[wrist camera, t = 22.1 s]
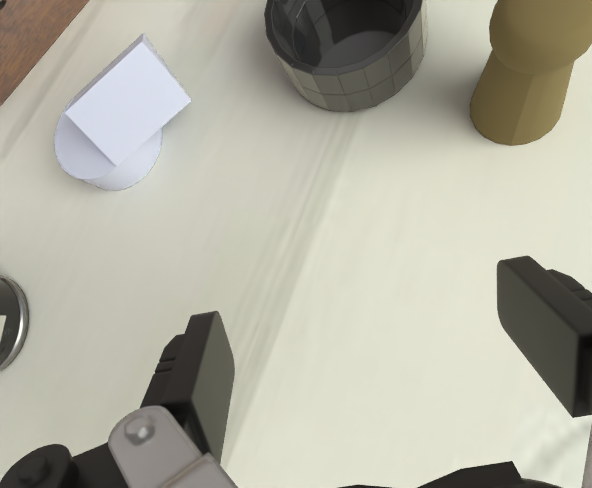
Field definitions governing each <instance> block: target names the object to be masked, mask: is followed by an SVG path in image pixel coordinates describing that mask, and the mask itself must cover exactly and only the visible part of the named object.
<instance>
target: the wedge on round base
mask: <svg viewBox="0 0 592 488" xmlns="http://www.w3.org/2000/svg"><path fill="white" fill-rule="evenodd" d="M191 101H192V100H191V98H190V97H189V96H188V94H187V93H186V91H185V90H184V89H183V87H182V86H181V84H180V83H179V82H178V80H177V79H176V77H175V76H174V75H173V73H172V72H171V70H170V69H169V68H168V66H167V65H166V63H165V62H164V61H163V59H162V58H161V56H160V55H159V54H158V52H157V51H156V49H155V48H154V47H153V45H152V44H151V42H150V41H149V39H148V38H147V37H146V35H145V34H144V33H143V34H142V35H141V36H140V37H139V38H138V39H136V40H135V41H134V42H133V43H132V44H131V45H130V46H129V47H128V48H127V49H126V50H125V51H123V52H122V53H121V54H120V55H119V56H118V57H117V58H116V59H115V60H114V61H113V62H112V63H110V64H109V65H108V66H107V67H106V68H105V69H104V70H103V71H102V72H101V73H100V74H99V75H98V76H96V77H95V78H94V79H93V80H92V81H91V82H90V83H89V84H88V85H87V86H86V87H85V88H83V89H82V90H81V91H80V92H79V93H78V94H77V95H76V96H75V97H74V98H73V99H72V100H71V101H70V102H69V103H68V105H67V106H66V108H65V109H64V111H63V112H62V114H61V116H60V118H59V121H58V124H57V127H56V131H55V137H54V147H55V154H56V157H57V160H58V162H59V164H60V166H61V167H62V168H63V169H64V170H65V171H66V172H67V173H68V174H70V175H71V176H73V177H76V178H78V179H80V180H83V181H85V182H88V183H90V184H92V185H95V186H97V187H100V188H102V189H105V190H109V191H117V190H123V189H126V188H128V187H131V186H133V185H134V184H136V183H138V182H139V181H140V180H141V179H143V178H144V177H145V176H146V175H147V173H148V172H149V171H150V170H151V168H152V167H153V165H154V164H155V162H156V160H157V157H158V155H159V152H160V148H161V143H162V129H161V127H162V126H164V125H165V124H166V123H167V122H168V121H169V120H170V119H172V118H173V117H174V116H175V115H176V114H177V113H178V112H180V111H181V110H182V109H183V108H184V107H185V106H186V105H188V104H189V103H190V102H191Z"/></svg>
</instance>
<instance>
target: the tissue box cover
mask: <svg viewBox="0 0 592 488" xmlns="http://www.w3.org/2000/svg"><path fill="white" fill-rule="evenodd" d="M88 1H89V0H0V106H1V105H2V104H3V102H4V101H5V100H6V99H7V98H8V96H9V95H10V94H11V93H12V92H13V90H14V89H15V88H16V87H17V86H18V84H19V83H20V82H21V81H22V80H23V78H24V77H25V76H26V75H27V74H28V72H29V71H30V70H31V69H32V68H33V67H34V65H35V64H36V63H37V62H38V61H39V59H40V58H41V57H42V56H43V55H44V53H45V52H46V51H47V50H48V49H49V47H50V46H51V45H52V44H53V43H54V41H55V40H56V39H57V38H58V37H59V35H60V34H61V33H62V32H63V31H64V29H65V28H66V27H67V26H68V25H69V23H70V22H71V21H72V20H73V19H74V17H75V16H76V15H77V14H78V13H79V12H80V10H81V9H82V8H83V7H84V6H85V4H86V3H87V2H88Z"/></svg>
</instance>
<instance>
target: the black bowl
mask: <svg viewBox="0 0 592 488" xmlns="http://www.w3.org/2000/svg"><path fill="white" fill-rule="evenodd" d="M264 13H265V14H264V17H265V27H266V35H267V38H268V40H269V42H270V44H271V46H272V48H273V50H274V52H275V54H276V55H277V57H278V59H279V60H280V62H281V64H282V65H283V67H284V69H285V70H286V72H287V74H288V75H289V77H290V79H291V80H292V82H293V84H294V85H295V87H296V89H297V90H298V92H300V93H301V94H302V95H303V96H304V97H305V98H306V99H307V100H308V101H310V102H311V103H312V104H314V105H317V106H320V107H322V108H325V109H327V110H330V111H344V112H352V111H357V110H361V109H365V108H369V107H373V106H376V105H378V104H379V103H381V102H383V101H385V100H387V99H388V98H390V97H392V96H394V95H395V94H396V93H397V92H398V91H399V90H400V89H401V88H402V87H403V86H404V85H405V84H406V83H407V82H408V81H409V80H410V79H411V78H412V77H413V75H414V73H415V72H416V70H417V68H418V66H419V64H420V62H421V61H422V59H423V57H424V52H425V46H426V40H427V15H426V0H267V4H266V8H265V12H264Z"/></svg>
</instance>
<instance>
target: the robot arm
mask: <svg viewBox="0 0 592 488" xmlns="http://www.w3.org/2000/svg"><path fill="white" fill-rule="evenodd" d="M497 310H498V316H499V319H500V322H501V325H502V327H503V328H504V330H505V331H506V333H507V334H508V335H509V337H510V338H511V339H512V340H513V342H514V343H515V344H516V346H517V347H518V348H519V349H520V351H521V352H522V353H523V355H524V356H525V357H526V358H527V360H528V361H529V362H530V364H531V365H532V366H533V367H534V369H535V370H536V371H537V373H538V374H539V375H540V376H541V378H542V379H543V380H544V381H545V383H546V384H547V385H548V387H549V388H550V389H551V390H552V392H553V393H554V394H555V396H556V397H557V398H558V399H559V401H560V402H561V403H562V405H563V406H564V407H565V408H566V410H567V411H568V412H569V414H570V415H571V416H572V417H573V418H574V417H581V416H587V415H592V293H591V292H590V291H588V290H587V289H586V290H585V288H584V287H583V286H582V285H581V284H580V283H578V282H577V281H576V280H575V279H573V278H572V277H570V276H568V275H565V274H563V273H560V272H558V271H555V270H553V269H551V270H545V269H544V268H543V267H542V266H541V265H539V264H538V263H537V262H536V261H535V260H534V259H532V258H531V257H530V256H522V257H517V258H511V259H506V260H500V261H499V262H498V264H497ZM28 322H29V313H28V306H27V301H26V298H25V296H24V294H23V292H22V290H21V289H20V287H19V286H18V285H17V284H16V283H15V282H14V281H12V280H11V279H9V278H6V277H3V276H0V371H2V370H3V369H5V368H6V367H7V366H8V365H9V364H10V363H11V362H12V361H13V360H14V359H15V358H16V356H17V355H18V353H19V351H20V350H21V348H22V346H23V343H24V341H25V338H26V334H27V329H28ZM159 362H160V363H158V365H157V367H156V370H155V374H154V375H153V377H152V379H151V382H150V384H149V387H148V389H147V392H146V394H145V396H144V399H143V401H142V404H141V406H140V409H138V410H135V411H134V412H132V413H130V414H128V415H127V416H125V417H124V418H123V419H122V420H121V421H120V422H119V423H118V424H117V425H116V426H115V427H114V428H113V430H112V432H111V433H110V436H109V439H108V442H107V443H105V444H103V445H101V446H98V447H96V448H94V449H91V450H89V451H86V452H84V453H82V454H79V455H77V456H74V457H72V455H71V454H70V452H69V450H68V449H67V448H66V447H65V446H63V445H60V444H52V445H47V446H43V447H41V448H38V449H36V450H34V451H32V452H30V453H29V454H27V455H26V456H24V457H23V458H21V459H20V460H19V461H18V462H16V463H15V464H14V465H13V466H12V467H11V468H10V469H9V470H8V472H7V473H6V474H5V476H4V477H3V478H2V480H1V482H0V488H238V487H237V486H236V485H235V483H234V482H233V481H232V480H231V478H230V477H229V476H228V475H227V473H226V472H225V471H224V470H223V468H222V467H221V466H220V461H221V455H222V449H223V443H224V437H225V430H226V424H227V418H228V412H229V406H230V400H231V393H232V387H233V381H234V374H235V367H234V359H233V354H232V351H231V348H230V344H229V341H228V338H227V335H226V332H225V329H224V325H223V322H222V319H221V316H220V314H219V312H218V311H213V312H208V313H202V314H196V315H192V316H191V317H190V320H189V323H188V326H187V328H186V331H185V334H181V335H176V336H175V337H174V338H173V339H172V340H171V341H170V342H169V343H168V345H167V346H166V347H165V348H164V350H163V353H162V355H161V358H160V360H159ZM339 488H390V487H378V486H367V485H352V486H346V487H339ZM417 488H561V487H559V486H556V485H553V484H549V483H546V482H542V481H537V480H531V479H524V478H521V476H520V474H519V473H518V471H517V469H516V467H515V465H514V464H513V462H512V461H510V462H503V463H497V464H490V465H484V466H477V467H470V468H464V469H460V470H457V471H455V472H453V473H450V474H448V475H446V476H443V477H441V478H439V479H436V480H434V481H432V482H429V483H427V484H425V485H422V486H420V487H417ZM582 488H592V426H591V432H590V438H589V444H588V450H587V457H586V463H585V469H584V475H583V482H582Z"/></svg>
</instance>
